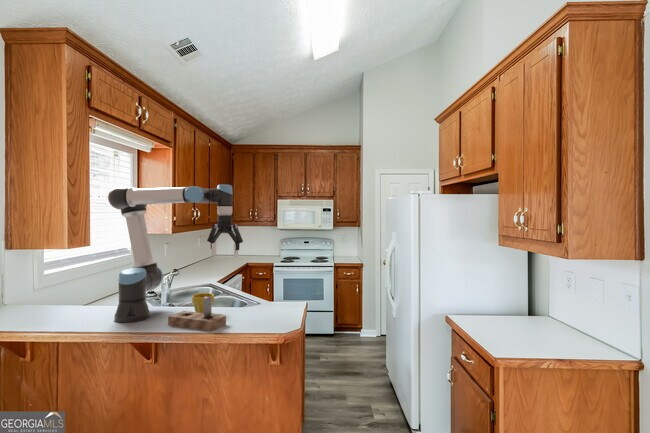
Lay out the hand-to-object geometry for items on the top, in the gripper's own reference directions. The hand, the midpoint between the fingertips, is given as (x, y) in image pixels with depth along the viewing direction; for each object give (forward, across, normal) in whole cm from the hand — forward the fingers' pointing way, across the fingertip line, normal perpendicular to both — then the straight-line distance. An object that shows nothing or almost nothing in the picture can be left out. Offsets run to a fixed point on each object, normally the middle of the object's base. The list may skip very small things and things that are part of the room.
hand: (224, 256), depth 190 cm
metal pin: (+28, -8, +23) cm, 37 cm away
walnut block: (+29, -2, +23) cm, 37 cm away
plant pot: (+29, +7, +8) cm, 31 cm away
